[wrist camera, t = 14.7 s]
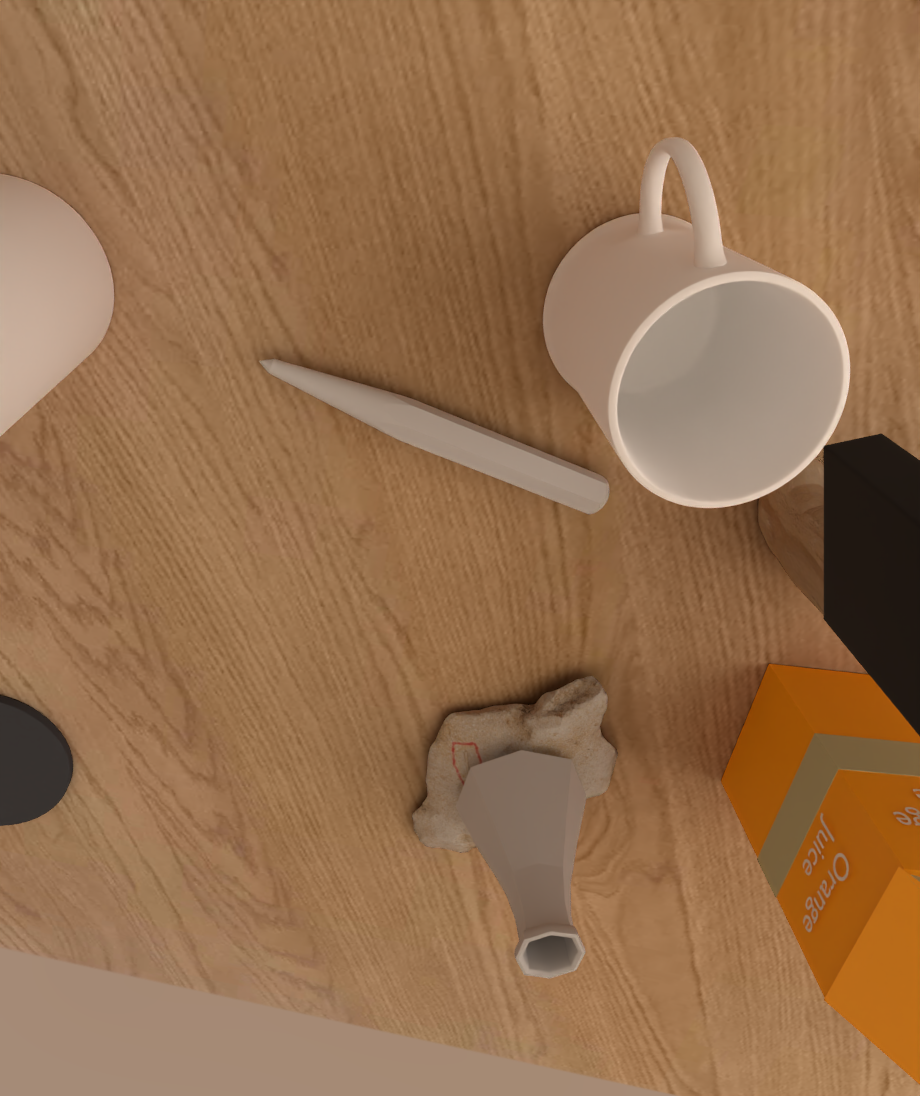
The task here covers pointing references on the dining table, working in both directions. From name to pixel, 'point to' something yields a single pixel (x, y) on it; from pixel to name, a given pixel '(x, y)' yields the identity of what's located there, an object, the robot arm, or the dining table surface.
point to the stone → (483, 735)
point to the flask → (530, 849)
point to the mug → (695, 349)
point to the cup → (46, 294)
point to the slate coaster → (30, 763)
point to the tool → (452, 438)
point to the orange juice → (840, 840)
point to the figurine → (798, 529)
